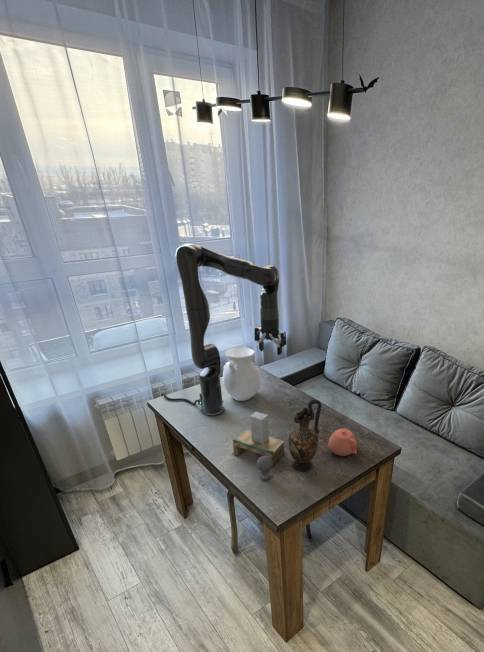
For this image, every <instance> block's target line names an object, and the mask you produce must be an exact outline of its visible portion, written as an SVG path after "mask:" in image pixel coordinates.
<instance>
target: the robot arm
mask: <svg viewBox="0 0 484 652" xmlns="http://www.w3.org/2000/svg"><path fill="white" fill-rule="evenodd" d="M175 262H176V266H177V270H178V273H179V277H180V281H181V286H182V293H183V298H184V304H185V311H186V317H187V323H188V329H189V337H190V352H191V359H192V362H193V365H194V366H195V367H196V368H197V369H198V370H200V371H199V373H198V381H199V389H200V392H199V399H196V400H194V402H192V401H191V400H189V399H187V398H170V397H168V396H167V394H165V393H162V394H160V396H161V397H164V398H165V399H166V400H168V401H185V402H187V403H189V404H190V405H191V406H196V405H197V404H198V406H200V409H201V412H203V414H205V415H206V416H217V415H220V414H222V413H223V412H224V400H223V393H222V384H221V373H222V367H221V365H222V363H221V354H220V351H219V349H218V347H217V346H216V345H215V344H213V343H208V344H205V335H206V332H207V329H208V326H209V325H210V324H209V323H210V321H211V312H210V306H209V305H210V304H209V300H208V298H207V296H206V294H205V292H204V290H203V288H202V286H201V282H200V276H199V268H200V267H206V268H211V269H216V270H219V271H221V272H222V273H225V274H227V275H229V276H231V277H235V278H239V279H242V280H247V281H250V283H251V282H252V283H254V284H256V285H258V286H261V291H260V295H259V301H260V310H259V313H260V316H259V317H260V318H259V319H260V325H258V326H255V327H254V333H253V334H254V335H253V336H254V342H257V343H258V350H259V351H260V352H263V351H264V350H265V342H264V341H265V340H266V341H268V340H269V341H273V343H274V344H275V345H276V346H277V347H276V353H277V356H280V355H281V354H283V348H284V347H285V346H286V345H287V332H286V331H280V329H279V327H280V312H279V298H278V297H279V296H278V292H279V287H280V286H279V285H280V273H279V269H278V268H277V267H276V266H275V265H274V264H267V265H265V266H258V265H255V264H254V262H252V261H249V260H245V259H242V258H238V257H234V256H229V255H227V254H226V255H225V254H222V253H219V252H216V251H213V250H211V249H208V248H207V247H204V246H202V245H200V244H197V243H193V242H191V243H190V242H189V243H186V244H182V245H180V246H179V247H178V248H176V251H175ZM261 334H262V335H261Z"/></svg>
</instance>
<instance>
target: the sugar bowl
mask: <svg viewBox="0 0 484 652" xmlns="http://www.w3.org/2000/svg"><path fill="white" fill-rule="evenodd" d="M327 447H328V449H329V451H331V453H333V454H334V455H336V456H339V457H346V456H350V455H352V454H353V455H357V454H358V450H357V448H358V441H357V439H356V437H355V435H354V433H353V432H352V431H351V430H349V429H348V428H338V429H336V430H335V431H334V432H332V434H331V435H330V436H329V438H328V442H327Z"/></svg>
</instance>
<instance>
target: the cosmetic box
mask: <svg viewBox="0 0 484 652" xmlns="http://www.w3.org/2000/svg"><path fill="white" fill-rule="evenodd" d="M249 421H250V431H251V437H252V441H254V442H257V443H261V444H265V443H266V442H267V441H268V440H269V437H270V428H269V427H270V426H269V415H268V414H265V413H262V412H259V411H254V412H253V413H252V414H251V415H250V416H249Z"/></svg>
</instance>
